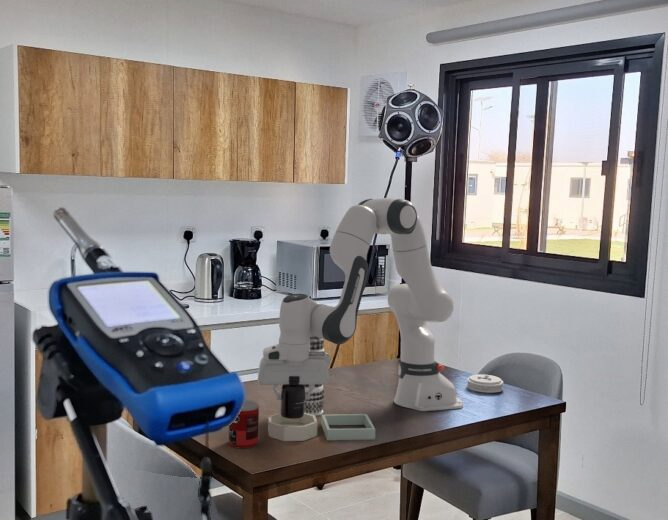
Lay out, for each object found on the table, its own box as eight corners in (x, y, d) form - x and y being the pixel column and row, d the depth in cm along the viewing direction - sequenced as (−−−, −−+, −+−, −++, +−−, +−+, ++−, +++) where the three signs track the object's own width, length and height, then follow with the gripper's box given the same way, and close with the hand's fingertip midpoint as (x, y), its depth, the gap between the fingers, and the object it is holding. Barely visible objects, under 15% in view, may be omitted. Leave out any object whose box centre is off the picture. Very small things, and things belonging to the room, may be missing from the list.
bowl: (313, 424, 218) (313, 411, 217) (318, 440, 204) (319, 426, 204) (267, 425, 216) (267, 412, 216) (269, 441, 202) (269, 427, 202)
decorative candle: (289, 410, 231) (291, 332, 228) (313, 405, 236) (315, 329, 234) (306, 418, 223) (308, 337, 221) (330, 413, 229) (332, 334, 226)
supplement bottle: (301, 420, 206) (302, 378, 204) (277, 418, 207) (278, 376, 206) (306, 413, 212) (308, 372, 211) (284, 411, 214) (285, 370, 212)
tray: (366, 423, 220) (366, 413, 220) (375, 439, 207) (375, 429, 206) (321, 424, 218) (321, 414, 218) (327, 440, 205) (327, 429, 204)
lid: (497, 385, 268) (498, 372, 267) (506, 395, 255) (507, 381, 255) (463, 384, 268) (464, 371, 267) (470, 394, 255) (471, 380, 254)
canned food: (229, 438, 204) (230, 400, 203) (258, 438, 204) (259, 400, 203) (227, 448, 196) (228, 408, 195) (257, 448, 197) (258, 408, 196)
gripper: (329, 349, 212) (327, 395, 214) (258, 349, 209) (257, 396, 211) (332, 354, 206) (330, 402, 207) (258, 354, 203) (257, 402, 205)
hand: (292, 399), depth 209 cm, fingers closed on supplement bottle, 7 cm apart
